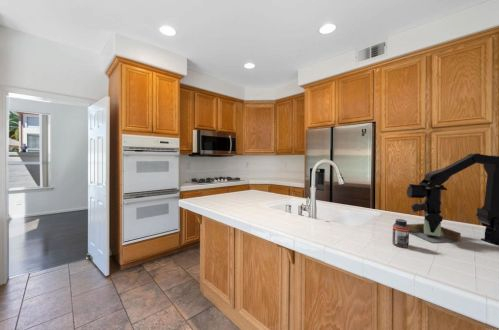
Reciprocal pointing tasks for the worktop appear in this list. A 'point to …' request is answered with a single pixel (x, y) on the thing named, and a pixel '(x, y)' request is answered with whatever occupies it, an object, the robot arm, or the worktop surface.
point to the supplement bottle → (400, 233)
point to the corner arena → (445, 235)
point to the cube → (427, 229)
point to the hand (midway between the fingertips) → (431, 230)
